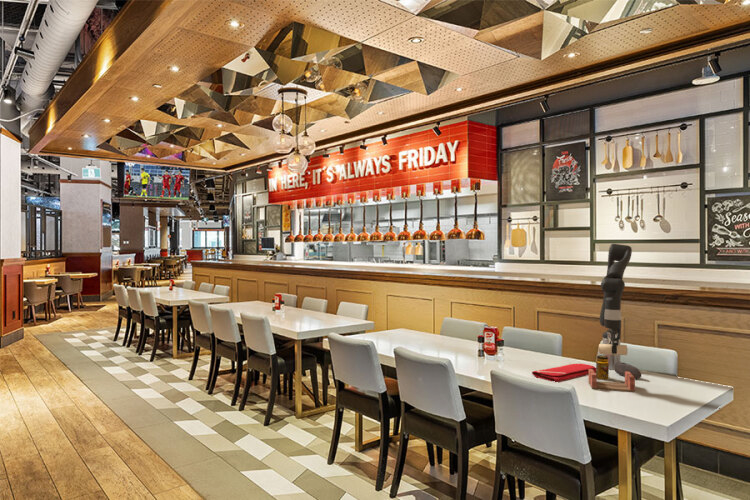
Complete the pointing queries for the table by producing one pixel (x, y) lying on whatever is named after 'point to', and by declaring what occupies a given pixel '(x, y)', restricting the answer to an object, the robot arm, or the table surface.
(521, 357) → the table surface
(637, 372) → the perforated stone tool
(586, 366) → the dish drying mat
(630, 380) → the end holder
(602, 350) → the tan rounded cylinder
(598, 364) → the condiment
